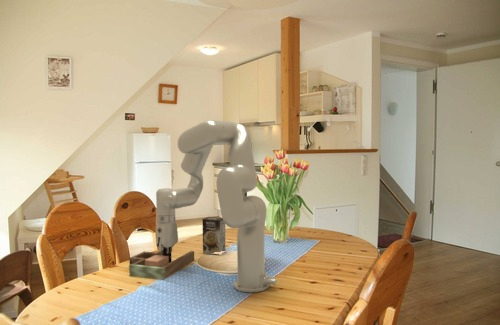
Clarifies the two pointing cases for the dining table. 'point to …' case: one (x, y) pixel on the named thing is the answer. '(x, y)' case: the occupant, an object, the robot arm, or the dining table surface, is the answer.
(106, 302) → the dining table surface
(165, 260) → the block
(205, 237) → the coffee box
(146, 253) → the channel
